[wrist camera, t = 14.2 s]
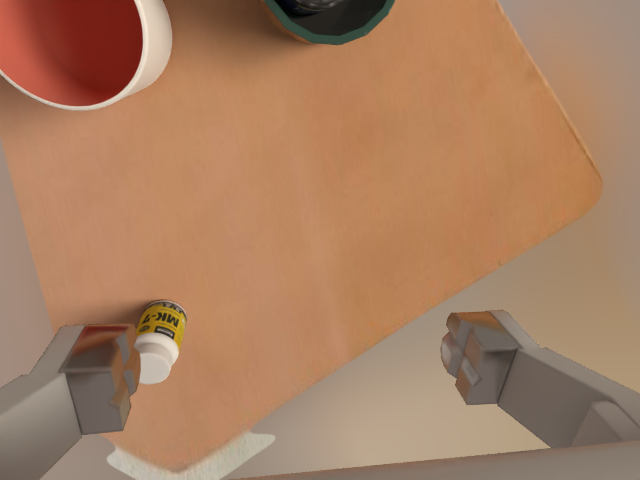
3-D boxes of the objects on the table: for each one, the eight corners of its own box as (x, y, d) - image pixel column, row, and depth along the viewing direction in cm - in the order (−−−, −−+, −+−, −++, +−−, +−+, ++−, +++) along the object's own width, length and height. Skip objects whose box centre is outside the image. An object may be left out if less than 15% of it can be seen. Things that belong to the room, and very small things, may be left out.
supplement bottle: (188, 300, 45) (176, 351, 38) (186, 333, 47) (174, 388, 40) (143, 296, 44) (121, 348, 37) (142, 331, 46) (121, 387, 39)
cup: (159, -50, 31) (122, -84, 22) (186, 87, 36) (164, 104, 27) (21, -44, 30) (-74, -77, 21) (67, 97, 35) (4, 117, 26)
